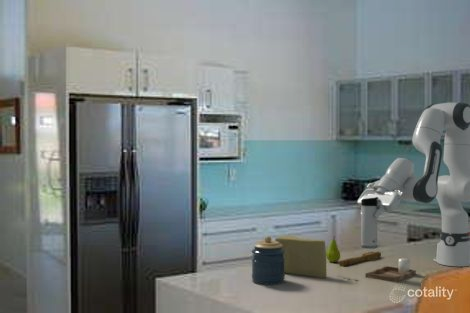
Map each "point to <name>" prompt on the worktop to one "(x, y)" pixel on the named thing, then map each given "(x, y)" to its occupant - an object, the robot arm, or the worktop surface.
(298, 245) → the cheese
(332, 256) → the fruit
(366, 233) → the travel mug
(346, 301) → the worktop surface
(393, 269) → the tray
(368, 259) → the tap handle
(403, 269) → the white egg
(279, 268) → the canister
